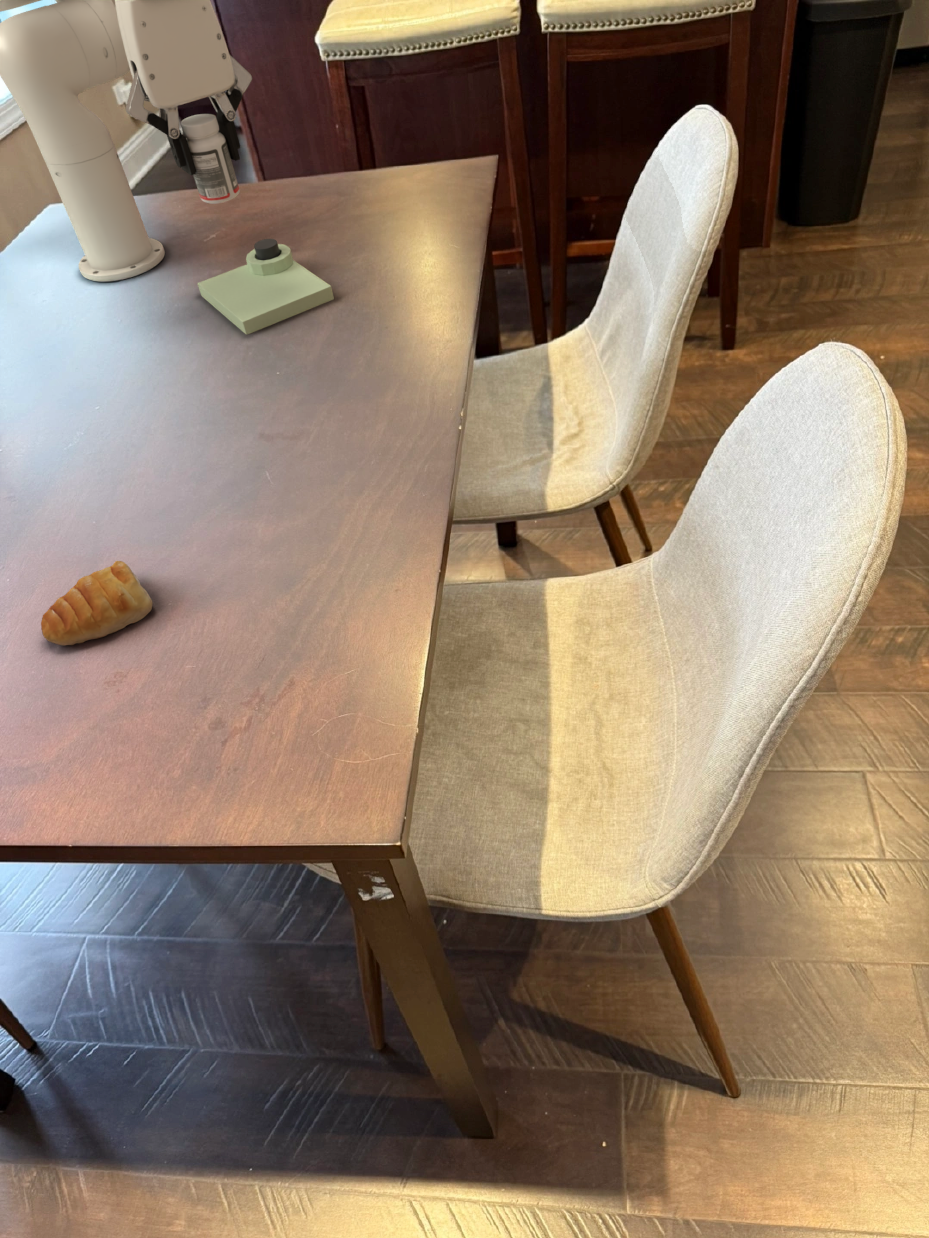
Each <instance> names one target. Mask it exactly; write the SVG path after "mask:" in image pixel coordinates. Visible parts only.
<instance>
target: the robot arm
mask: <svg viewBox="0 0 929 1238" xmlns="http://www.w3.org/2000/svg"><path fill="white" fill-rule="evenodd" d="M40 1H42V0H0V12H5V11H9V10H13V9H17V8H21V7H24V6H27V5H30V4H34V3H38V2H40ZM54 1H55V2H56V3H55V2H54V3H52V4H48V5H44V6H39V7H37V8H33V9H30V10H26V11H23V12H20V13H17V14H15V15H13V16H10V17H8V18H6V19H4V20H3V21H1V22H0V78H1V80H2V82H3V83H4V84H5V86H6V88H7V89H8V91H9V93H10V94H11V96H12V98H13V99H14V101H15V103H16V104H17V106H18V108H19V110H20V112H21V114H22V115H23V118H24V120H25V121H26V123H27V125H28V127H29V129H30V132H31V134H32V136H33V138H34V141H35V142H36V144H37V146H38V149H39V152H40V153H41V156H42V158H43V161H44V162H45V165H46V168H47V169H48V172H49V174H50V177H51V179H52V182H53V183H54V186H55V188H56V191H57V193H58V195H59V197H60V200H61V202H62V205H63V207H64V209H65V212H66V215H67V217H68V218H69V222H70V223H71V227H72V228H73V231H74V232H75V235H76V237H77V240H78V242H79V245H80V247H81V248H82V251H83V254H84V255H83V256H82V257H81V259H80V260H79V262H78V270H79V271H80V274H81V275H82V277H84V278H85V279H87V280H90V281H93V282H99V283H100V282H104V283H105V282H106V283H107V282H117V281H123V280H127V279H131V278H133V277H137V276H139V275H141V274H144V273H146V272H148V271H150V270H152V269H154V268H155V267H156V266H157V265H158V264H160V263H161V261H163V259H164V257H165V253H166V252H165V248H164V246H163V244H162V242H160V241H159V239H158V240H157V239H155V238H151V237H149V235H148V233H147V230H146V227H145V224H144V222H143V221H144V220H143V219H142V216H141V213H140V210H139V207H138V204H137V202H136V199H135V197H134V194H133V191H132V189H131V186H130V183H129V180H128V178H127V175H126V173H125V169H124V167H123V165H122V162H121V159H120V156H119V154H118V150H117V148H116V146H115V143H114V140H113V138H112V134H111V133H110V132H111V131H109V129H108V127H107V125H106V124H105V122H104V121H103V119H101V118H100V116H99V115H98V114H96V113H95V111H92V110H91V109H90V108H89V107H87V106H86V105H84V103H82V102H81V100H80V99H79V95H80V94H82V93H84V92H87V91H88V90H91V89H94V88H96V87H99V86H102V85H105V84H108V83H111V82H112V81H115V80H118V79H120V78H121V77H124V76H126V75H127V74H128V73H129V72H130V75H131V78H132V82H131V86H130V90H129V94H128V97H127V101H126V106H125V112H126V113H127V114H128V115H129V116H131V118H134V119H136V120H139V121H141V122H142V123H145V124H148V125H150V126H152V127H153V128H154V129H156V130H158V131H159V132H161V133H163V134H164V135H166V137H167V140H168V141H167V142H168V143H169V146H170V150H171V153H172V156H173V159H174V163H175V164H176V166H177V167H178V168H180V169H182V170H183V171H184V172H185V173H187V174H188V175H190V176H193V175H194V174H196V172H197V171H196V168H195V164H194V161H193V158H192V155H191V151H190V148H189V145H188V142H187V138H186V137H185V136H184V134H183V133H182V131H181V129H180V119H179V118H180V117H179V106H182V105H184V104H185V105H186V104H189V103H191V102H195V101H198V100H203V99H205V98H208V99H209V100H210V102H211V104H212V106H213V108H214V110H215V112H216V119H217V122H218V125H219V131H218V132H220V133H221V134H223V136H224V137H225V140H226V143H227V147H228V150H229V154H230V157H231V161H235V162H236V161H239V160H240V159H241V157H240V153H239V149H241V144H240V140H239V137H238V132H237V128H236V125H235V122H234V121H235V120H236V118H237V113H236V112H237V110H238V108H239V106H240V104H241V102H242V99H243V95H244V94H245V93H246V91H247V90H248V88H249V86H250V84H251V82H252V81H253V77H252V75H251V73H250V72H249V71H248V70H247V69H245V68H244V66H242V65H241V64H240V63H239V62H238V61H237V60H236V59H235V58H234V57H233V56H232V55H231V54H230V52H229V49H228V45H227V43H226V39H225V36H224V34H223V33H224V32H223V31H222V27H221V25H220V23H219V20H218V16H217V14H216V12H215V9H214V6H213V4H212V1H211V0H114V2H113V0H54ZM145 102H150V104H151V105H152V107H154V108H157V109H158V114H156V113H154V112H153V111H151V110H148V109H146V108H145V106H144V105H145V104H144V103H145Z"/></svg>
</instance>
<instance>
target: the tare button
mask: <svg viewBox="0 0 929 1238" xmlns="http://www.w3.org/2000/svg"><path fill="white" fill-rule="evenodd" d="M278 244H279V243H278V240H277V239H275V238H265V239H261V240H258V241H256V242H255V243H254V245H253V249H255V252H256V255H257V259H258V260H270V259H273V258H276V257H278V256H279V255H280V251H279V247H278Z"/></svg>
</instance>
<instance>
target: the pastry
mask: <svg viewBox="0 0 929 1238" xmlns="http://www.w3.org/2000/svg"><path fill="white" fill-rule="evenodd" d="M152 609H153V600H152V598H151V597H150V594H149V593H148V591H147V590H146V589H145V587H143V586H142V585H141V581H140V580H139V578H138V577H137V575H136V574H135V573H134V572H133V571H132V569H131V568H130V567H129V565H128V564H127V563H126V562H124V561H122V560H115V562H113V564H112V565H110V566H107V567H104V568H103V569H101V570H100V569H99V570H96V571H93V572H92V573H91V574H88V575H84V576H83V577H81V578H79V579H78V580H76V583H75V584H74V586H72V587H71V588H70V589H69V590H68V591H67V592H66V593H65V594H64V595H62V596H60V597H58V598H57V599H56V601H55V602H54V603H53V604H51V605H50V607H48V609H47V611H45V613H43V615H42V617H41V621H40V626H41V627H40V630H41V633H42V636H43V638H44V639H46V640H47V641H48V642H49V643H52V644H55V645H59V646H74V645H76V644H83V643H85V642H86V641H90V640H98V639H101V638H104V637H106V636H108V635H111V634H113V633H116V632H118V631H120V630H122V629H125V628H126V626H128V625H130V624H136V623H137V622H139V621H141V620H142V619H144V618H145V617H146V616H147V615H148V614H149V613H150V612H151V611H152Z"/></svg>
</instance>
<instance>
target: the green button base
mask: <svg viewBox="0 0 929 1238" xmlns="http://www.w3.org/2000/svg"><path fill="white" fill-rule="evenodd" d="M278 247H279V251H280V255H279V256H278V257H276V258H273V259H270V260H258V259H257V255H256V252H255V248H253V249H252V250H251V251H249V252H248V253H247V254H246V257H245V261H246V264H244V265H241V266H238V267H236V268H234V269H231V270H227V271H225V272H223V273H221V274H217V275H215V276H213V277H209V278H208V279H205V280H202V281H199V282H197V283H196V284H197V287H198V290H199V293H200V296H201V297H202V298H203V299H205V300H206V301H207V302H208V303H209V304H210V305H211V306H213V308H215V310H217V311H218V312H219V313H221V314H222V315H223V316H224V317H225V318H226V319H227V320H228V321H230V322H231V323H232V324H233V325H234V326H235V327H237V328H238V329H239V330H240V331H241V332H243V334H245V335H246V336H247V335H251V334H252V333H255V332H258V331H260V330H262V329H265V328H267V327H270V326H272V325H274V324H277V323H280V322H282V321H284V320H286V319H289V318H291V317H294V316H296V315H299V314H301V313H304V312H306V311H308V310H311V309H314V308H317V307H318V306H321V305H323V304H326V303H328V302H330V301H333V300H335V297H334V293H333V288H332V285H330V284H329V283H327V282H326V281H324V279H322V278H321V277H318V276H317V275H316V274H315V273H313V272H311V271H310V270H308V268H305V267H304V266H303V265H302V264H300V263H298V262H297V261H296V260H294V257H293V253H292V249H291V247H290V246H288V245H286V244H282V243H278Z"/></svg>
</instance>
